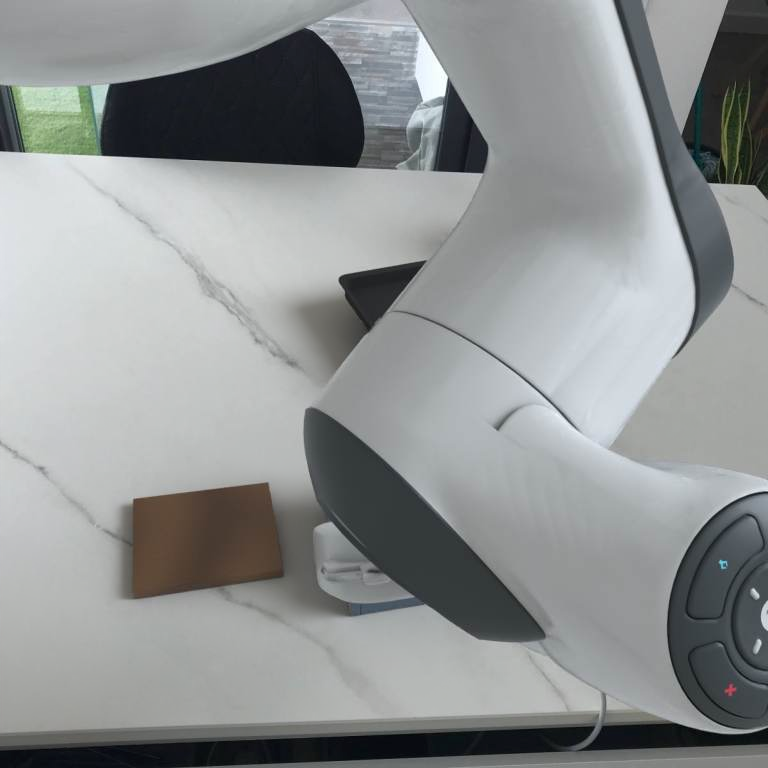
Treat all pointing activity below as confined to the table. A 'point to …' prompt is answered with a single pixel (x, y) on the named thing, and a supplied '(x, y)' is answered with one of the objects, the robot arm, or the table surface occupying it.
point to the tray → (377, 289)
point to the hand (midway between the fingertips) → (455, 523)
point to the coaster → (204, 540)
